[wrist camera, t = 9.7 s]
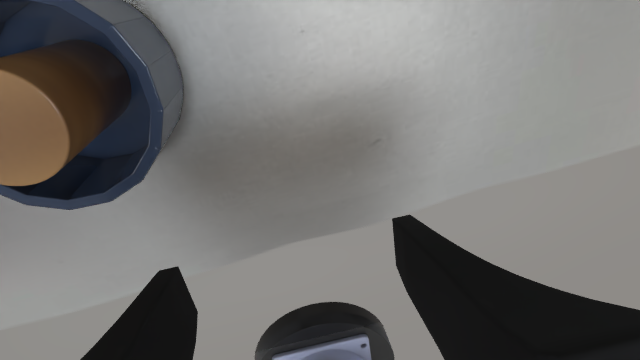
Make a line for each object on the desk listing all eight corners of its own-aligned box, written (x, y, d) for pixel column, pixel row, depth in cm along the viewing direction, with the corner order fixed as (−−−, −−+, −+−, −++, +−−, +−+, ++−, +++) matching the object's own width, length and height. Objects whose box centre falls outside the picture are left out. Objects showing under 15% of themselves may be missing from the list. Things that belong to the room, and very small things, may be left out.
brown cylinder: (143, 115, 19) (90, 173, 13) (63, 130, 19) (-30, 197, 13) (112, 32, 17) (32, 54, 11) (22, 48, 17) (-110, 79, 11)
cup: (204, 144, 21) (190, 185, 16) (45, 176, 20) (-13, 227, 16) (148, -31, 17) (109, -39, 12) (-51, 2, 16) (-165, 6, 12)
